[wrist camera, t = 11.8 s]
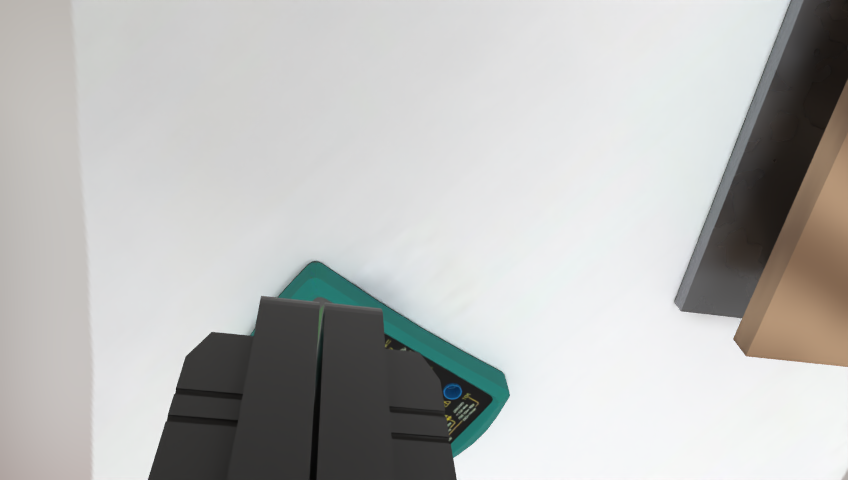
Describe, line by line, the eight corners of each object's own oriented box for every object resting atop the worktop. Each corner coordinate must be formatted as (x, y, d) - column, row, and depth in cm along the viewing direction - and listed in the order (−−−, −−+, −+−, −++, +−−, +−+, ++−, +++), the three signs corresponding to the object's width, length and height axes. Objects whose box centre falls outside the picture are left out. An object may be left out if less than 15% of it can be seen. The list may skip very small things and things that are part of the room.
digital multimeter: (438, 448, 50) (443, 482, 47) (239, 341, 45) (232, 373, 42) (512, 373, 48) (522, 404, 45) (311, 251, 43) (309, 278, 40)
